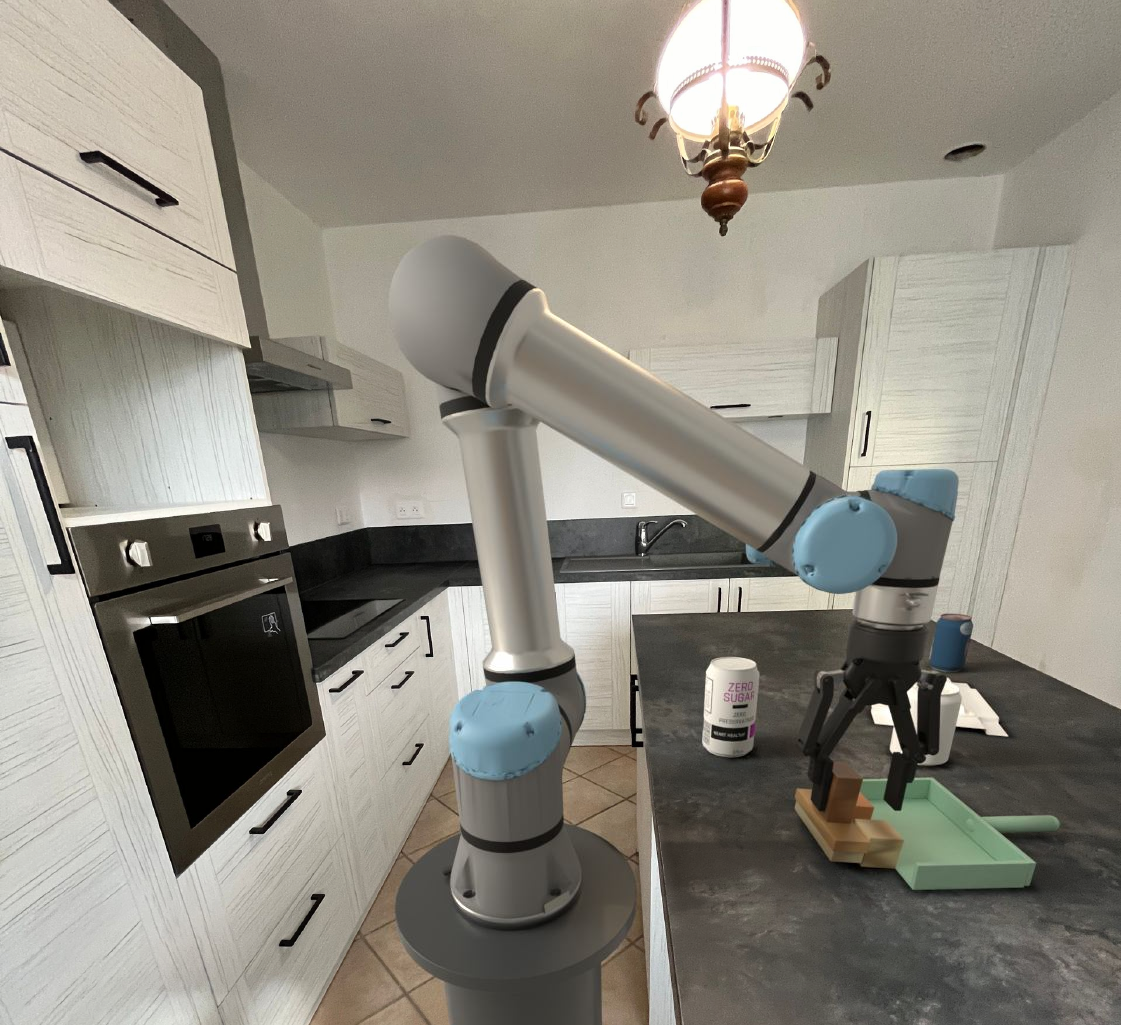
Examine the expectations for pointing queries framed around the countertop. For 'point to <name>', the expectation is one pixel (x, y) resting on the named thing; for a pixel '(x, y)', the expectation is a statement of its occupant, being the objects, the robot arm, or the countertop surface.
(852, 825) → the brush
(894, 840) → the chunk
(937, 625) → the soda can
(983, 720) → the tray
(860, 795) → the chunk
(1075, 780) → the countertop surface
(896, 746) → the beverage can
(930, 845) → the dustpan
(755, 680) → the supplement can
